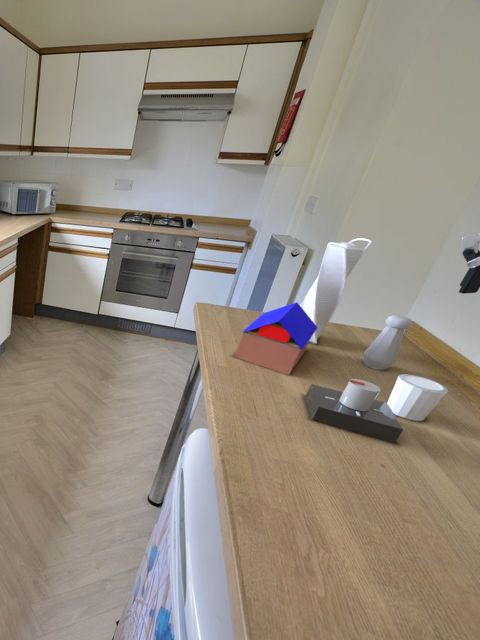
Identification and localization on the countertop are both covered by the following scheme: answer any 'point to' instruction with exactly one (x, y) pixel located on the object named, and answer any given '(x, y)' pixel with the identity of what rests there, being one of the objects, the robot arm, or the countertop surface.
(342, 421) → the hob panel
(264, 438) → the countertop surface
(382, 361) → the salt shaker
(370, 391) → the hob knob
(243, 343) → the house
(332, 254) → the skyscraper
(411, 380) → the shot glass
